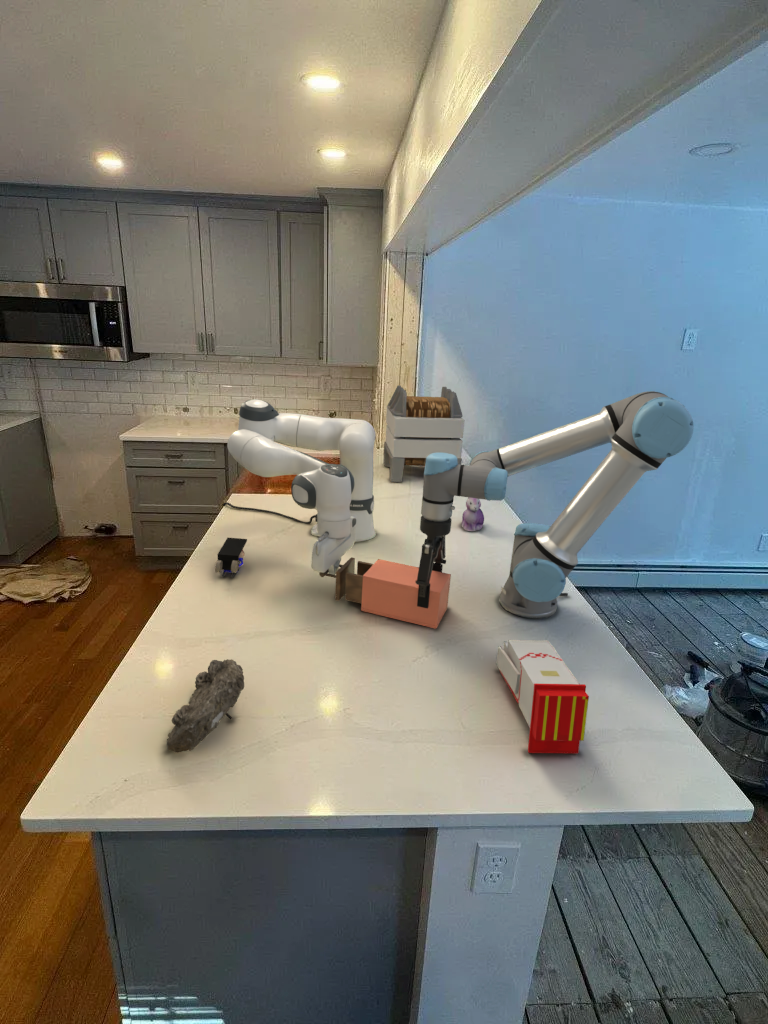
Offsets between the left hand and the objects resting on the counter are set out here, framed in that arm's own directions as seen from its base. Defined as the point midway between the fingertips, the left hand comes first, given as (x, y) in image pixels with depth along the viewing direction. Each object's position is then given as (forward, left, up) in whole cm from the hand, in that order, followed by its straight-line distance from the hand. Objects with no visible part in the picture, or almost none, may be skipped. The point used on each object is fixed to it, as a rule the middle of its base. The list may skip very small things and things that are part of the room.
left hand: (333, 573), depth 154 cm
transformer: (-5, +130, -6) cm, 130 cm away
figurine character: (-33, +4, -6) cm, 34 cm away
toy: (+54, -30, -6) cm, 62 cm away
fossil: (-4, -54, -6) cm, 54 cm away
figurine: (+29, +66, -6) cm, 73 cm away
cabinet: (+21, -2, -6) cm, 22 cm away
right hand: (+27, -2, -1) cm, 27 cm away
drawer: (+10, -1, -5) cm, 11 cm away
